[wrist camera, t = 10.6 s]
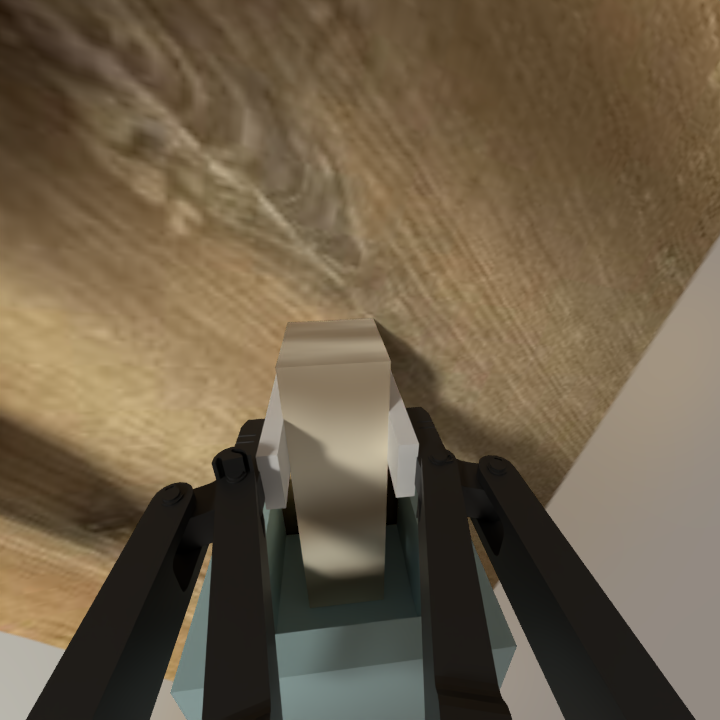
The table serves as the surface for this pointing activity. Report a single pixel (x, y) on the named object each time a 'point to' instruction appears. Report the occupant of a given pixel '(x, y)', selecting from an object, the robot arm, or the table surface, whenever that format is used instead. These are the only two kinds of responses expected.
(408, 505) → the block
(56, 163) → the table surface
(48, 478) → the table surface
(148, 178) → the table surface
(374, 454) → the rectangular bar
